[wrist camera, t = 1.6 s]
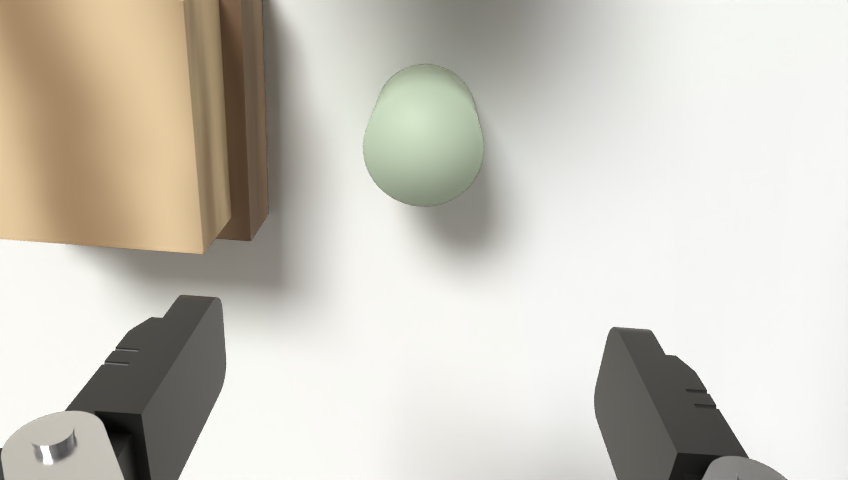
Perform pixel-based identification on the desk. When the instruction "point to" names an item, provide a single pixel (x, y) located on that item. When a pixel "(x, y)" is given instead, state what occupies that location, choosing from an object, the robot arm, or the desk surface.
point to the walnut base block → (244, 116)
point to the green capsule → (424, 137)
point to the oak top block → (113, 123)
